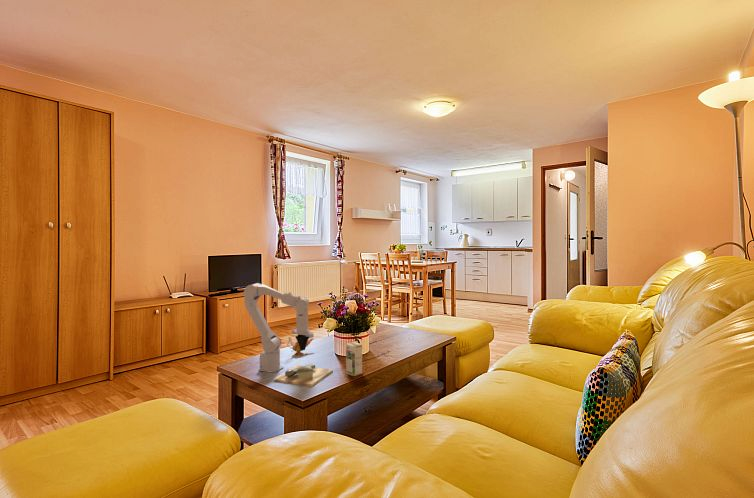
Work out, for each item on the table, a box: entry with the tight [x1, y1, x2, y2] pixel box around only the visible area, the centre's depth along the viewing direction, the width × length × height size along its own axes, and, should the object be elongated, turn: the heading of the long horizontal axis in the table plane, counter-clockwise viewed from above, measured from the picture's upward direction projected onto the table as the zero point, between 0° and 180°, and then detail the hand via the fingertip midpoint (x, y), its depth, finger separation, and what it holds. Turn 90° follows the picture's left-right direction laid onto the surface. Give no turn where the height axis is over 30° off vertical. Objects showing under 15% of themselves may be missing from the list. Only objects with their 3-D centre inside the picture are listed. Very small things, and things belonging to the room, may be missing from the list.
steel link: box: [284, 363, 316, 377], centre depth 176 cm, size 16×4×2 cm, turn 140°
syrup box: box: [345, 341, 363, 377], centre depth 179 cm, size 6×6×14 cm
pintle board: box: [272, 365, 334, 387], centre depth 176 cm, size 20×20×2 cm
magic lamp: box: [286, 336, 314, 357], centre depth 212 cm, size 7×18×11 cm, turn 137°
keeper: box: [297, 367, 313, 379], centre depth 172 cm, size 6×4×4 cm, turn 110°
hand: (302, 350), depth 185 cm, fingers closed
